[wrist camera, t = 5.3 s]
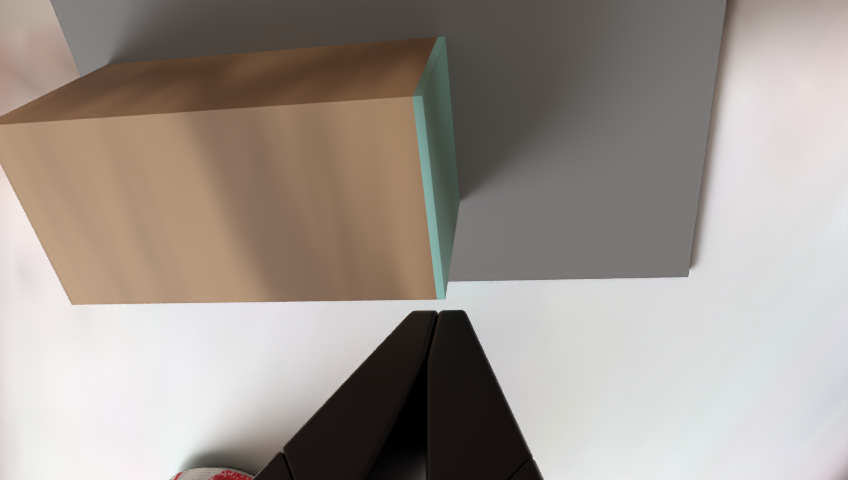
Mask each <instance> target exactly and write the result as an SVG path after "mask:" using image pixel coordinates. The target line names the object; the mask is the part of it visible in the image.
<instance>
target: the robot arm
mask: <svg viewBox="0 0 848 480" xmlns="http://www.w3.org/2000/svg"><path fill="white" fill-rule="evenodd" d="M252 480H544V479H543V477H542V475H541V472H540V470H539V468H538V466H537V464H536V462H535V460H534V459H533V456H532V454H531V452H530V449H529V447H528V445H527V443H526V441H525V439H524V437H523V434H522V432H521V430H520V428H519V426H518V424H517V421H516V419H515V417H514V415H513V413H512V411H511V409H510V406H509V404H508V402H507V400H506V398H505V396H504V393H503V391H502V389H501V387H500V385H499V383H498V381H497V378H496V376H495V374H494V372H493V370H492V368H491V365H490V363H489V361H488V359H487V357H486V355H485V353H484V350H483V348H482V346H481V344H480V342H479V340H478V337H477V335H476V333H475V331H474V329H473V327H472V325H471V322H470V320H469V318H468V316H467V314H466V312H465V311H463V310H443V311H441V312H439V314H438V313H437V312H436V311H434V310H432V311H413V312H411V313H410V314H409V315H408V316H407V317H406V318H405V319H404V320H403V321H402V322H401V323H400V324H399V325H398V326H397V327H396V329H395V330H394V331H393V332H392V333H391V334H390V335H389V336H388V337H387V338H386V339H385V340H384V341H383V342H382V343H381V344H380V345H379V346H378V347H377V349H376V350H375V351H374V352H373V353H372V354H371V355H370V356H369V357H368V358H367V359H366V360H365V361H364V362H363V363H362V364H361V365H360V366H359V368H358V369H357V370H356V371H355V372H354V373H353V374H352V375H351V376H350V377H349V378H348V379H347V380H346V381H345V382H344V383H343V384H342V385H341V387H340V388H339V389H338V390H337V391H336V392H335V393H334V394H333V395H332V396H331V397H330V398H329V399H328V400H327V401H326V402H325V403H324V404H323V406H322V407H321V408H320V409H319V410H318V411H317V412H316V413H315V414H314V415H313V416H312V417H311V418H310V419H309V420H308V421H307V422H306V423H305V425H304V426H303V427H302V428H301V429H300V430H299V431H298V432H297V433H296V434H295V435H294V436H293V437H292V438H291V439H290V440H289V441H288V442H287V444H286V445H285V446H284V447H283V448H282V452H278V453H277V454H276V455H275V456H274V457H273V458H272V459H271V460H270V461H269V462H268V463H267V464H266V465H265V466H264V467H263V469H262V470H261V471H260V472H259V473H258V474H257V475H256V476H255V477H254V478H253V479H252Z"/></svg>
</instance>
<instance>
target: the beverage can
mask: <svg viewBox="0 0 848 480" xmlns="http://www.w3.org/2000/svg"><path fill="white" fill-rule="evenodd" d="M254 477H255V476H253V475H250V474H248V473H246V472H243V471H240V470H236V469H232V468H224V467H214V468H194V469H190V470H185V471H183V472H180V473H178V474H176V475H175V476H173V477H172V478H171V479H170V480H252V479H253V478H254Z"/></svg>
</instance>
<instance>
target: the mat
mask: <svg viewBox="0 0 848 480" xmlns="http://www.w3.org/2000/svg"><path fill="white" fill-rule="evenodd" d="M50 1H51V3H52V6H53V8H54V11H55V13H56V16H57V18H58V21H59V23H60V26H61V28H62V31H63V33H64V36H65V38H66V41H67V43H68V46H69V48H70V51H71V53H72V56H73V58H74V61H75V63H76V66H77V68H78V71H79V73H80V76H81V77H83V76H85V75H87V74H89V73H91V72H93V71H95V70H97V69H99V68H101V67H103V66H105V65H107V64H119V63H131V62H143V61H155V60H167V59H178V58H190V57H202V56H214V55H226V54H238V53H250V52H262V51H274V50H286V49H298V48H310V47H321V46H333V45H345V44H357V43H369V42H381V41H393V40H405V39H417V38H429V37H441V36H445V38H446V50H447V61H448V72H449V84H450V95H451V107H452V118H453V129H454V141H455V152H456V164H457V175H458V186H459V198H460V204H459V211H458V217H457V224H456V231H455V237H454V244H453V251H452V257H451V264H450V270H449V277H448V282H450V281H503V280H556V279H608V278H661V277H688V274H689V267H690V260H691V253H692V246H693V239H694V231H695V224H696V217H697V210H698V203H699V196H700V188H701V181H702V174H703V167H704V160H705V152H706V145H707V138H708V131H709V124H710V117H711V109H712V102H713V95H714V88H715V81H716V74H717V66H718V59H719V52H720V45H721V38H722V31H723V23H724V16H725V9H726V2H727V0H50Z"/></svg>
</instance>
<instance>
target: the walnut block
mask: <svg viewBox="0 0 848 480" xmlns="http://www.w3.org/2000/svg"><path fill="white" fill-rule="evenodd" d="M0 164H1V166H2V168H3V170H4V172H5V174H6V176H7V178H8V180H9V182H10V184H11V186H12V188H13V190H14V192H15V194H16V195H17V197H18V199H19V201H20V203H21V205H22V207H23V209H24V211H25V213H26V215H27V217H28V219H29V221H30V223H31V225H32V227H33V229H34V231H35V233H36V235H37V237H38V239H39V241H40V243H41V245H42V247H43V249H44V251H45V253H46V255H47V257H48V259H49V261H50V263H51V265H52V267H53V269H54V271H55V272H56V274H57V276H58V278H59V280H60V282H61V284H62V286H63V288H64V290H65V292H66V294H67V296H68V298H69V300H70V302H71V304H72V305H81V304H151V303H221V302H291V301H361V300H431V299H445V297H446V290H447V284H448V277H449V270H450V264H451V257H452V251H453V244H454V237H455V231H456V224H457V217H458V211H459V204H460V198H459V186H458V175H457V164H456V152H455V141H454V129H453V118H452V107H451V95H450V84H449V72H448V61H447V50H446V38H445V36H441V37H429V38H417V39H405V40H393V41H381V42H369V43H357V44H345V45H333V46H321V47H310V48H298V49H286V50H274V51H262V52H250V53H238V54H226V55H214V56H202V57H190V58H178V59H167V60H155V61H143V62H131V63H119V64H107V65H105V66H103V67H101V68H99V69H97V70H95V71H93V72H91V73H89V74H87V75H85V76H83V77H81V78H79V79H76V80H74V81H72V82H70V83H68V84H66V85H64V86H62V87H60V88H58V89H56V90H54V91H52V92H50V93H48V94H46V95H44V96H42V97H40V98H38V99H36V100H34V101H32V102H29V103H27V104H25V105H23V106H21V107H19V108H17V109H15V110H13V111H11V112H9V113H7V114H5V115H3V116H1V117H0Z"/></svg>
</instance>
